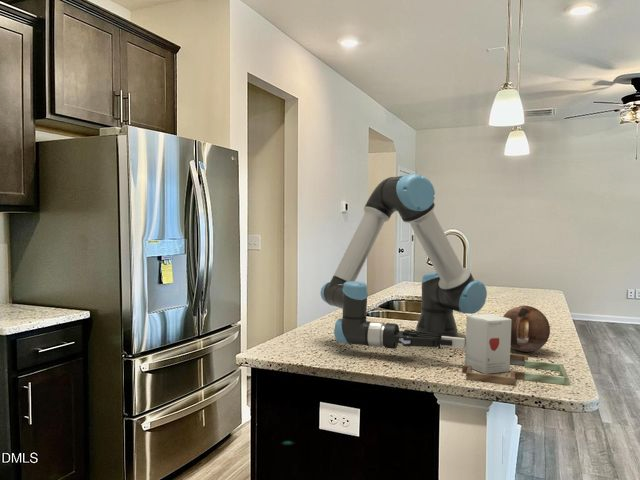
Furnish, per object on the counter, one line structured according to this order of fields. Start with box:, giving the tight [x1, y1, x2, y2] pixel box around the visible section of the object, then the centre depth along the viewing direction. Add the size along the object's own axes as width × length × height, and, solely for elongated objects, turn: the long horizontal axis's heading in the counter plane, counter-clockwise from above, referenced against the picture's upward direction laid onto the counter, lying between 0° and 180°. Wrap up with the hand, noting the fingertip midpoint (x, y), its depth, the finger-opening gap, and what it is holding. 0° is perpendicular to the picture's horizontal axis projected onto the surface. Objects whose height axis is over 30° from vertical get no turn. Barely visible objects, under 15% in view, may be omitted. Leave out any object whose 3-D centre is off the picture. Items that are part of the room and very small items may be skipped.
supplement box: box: [464, 313, 511, 375], centre depth 139 cm, size 9×9×15 cm
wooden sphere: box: [502, 305, 551, 353], centre depth 160 cm, size 15×15×15 cm
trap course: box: [461, 353, 570, 386], centre depth 137 cm, size 26×26×2 cm
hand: (464, 343), depth 141 cm, fingers closed
